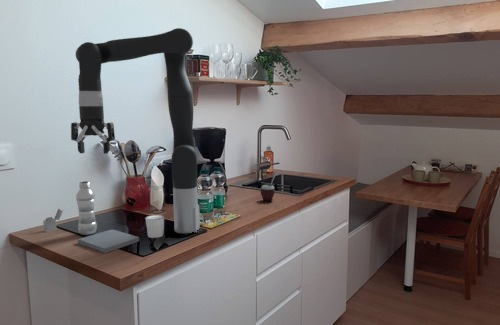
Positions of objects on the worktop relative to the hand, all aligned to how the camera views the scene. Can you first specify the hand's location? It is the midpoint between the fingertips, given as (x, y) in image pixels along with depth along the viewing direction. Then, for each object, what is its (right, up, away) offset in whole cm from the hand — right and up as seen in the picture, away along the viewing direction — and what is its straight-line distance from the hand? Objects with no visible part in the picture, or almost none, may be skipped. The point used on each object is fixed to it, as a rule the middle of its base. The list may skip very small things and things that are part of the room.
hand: (94, 153), depth 137 cm
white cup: (+18, -31, +14) cm, 38 cm away
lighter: (-24, -30, +22) cm, 44 cm away
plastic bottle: (-8, -30, +16) cm, 35 cm away
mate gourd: (+62, -23, +66) cm, 94 cm away
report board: (+3, -32, +7) cm, 32 cm away
